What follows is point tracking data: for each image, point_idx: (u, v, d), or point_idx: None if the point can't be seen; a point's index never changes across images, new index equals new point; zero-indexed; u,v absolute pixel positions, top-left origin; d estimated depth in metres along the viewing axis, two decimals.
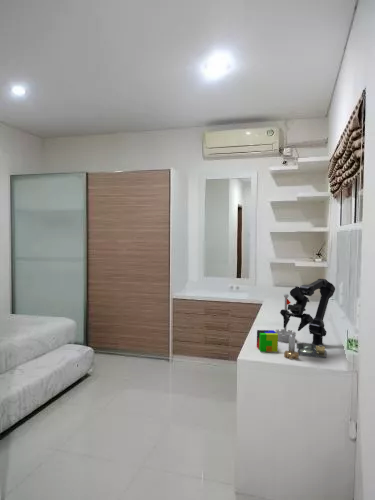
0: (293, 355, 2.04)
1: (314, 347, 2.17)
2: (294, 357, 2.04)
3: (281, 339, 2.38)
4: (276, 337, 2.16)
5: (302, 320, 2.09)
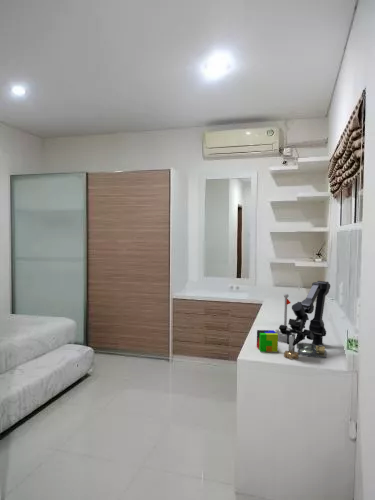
0: (293, 355, 2.04)
1: (314, 347, 2.17)
2: (294, 357, 2.04)
3: (281, 339, 2.38)
4: (276, 337, 2.16)
5: (298, 335, 2.06)
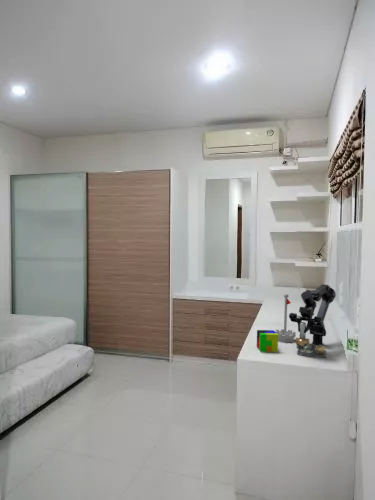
0: (305, 342, 2.10)
1: (314, 347, 2.17)
2: (306, 344, 2.11)
3: (281, 339, 2.38)
4: (276, 337, 2.16)
5: (309, 322, 2.12)
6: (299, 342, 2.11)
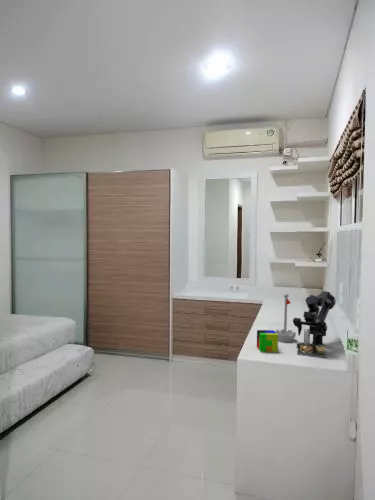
0: (309, 348, 2.13)
1: (314, 347, 2.17)
2: (310, 350, 2.13)
3: (281, 339, 2.38)
4: (276, 337, 2.16)
5: (317, 327, 2.13)
6: (303, 349, 2.14)
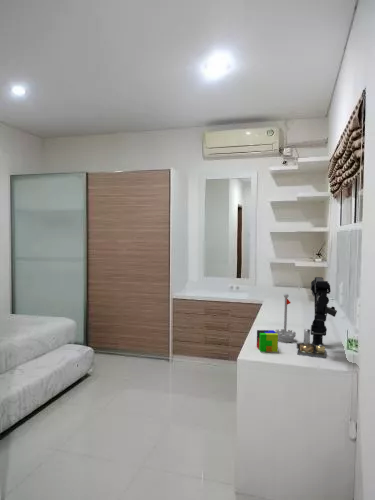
0: (309, 348, 2.13)
1: (314, 347, 2.17)
2: (310, 350, 2.13)
3: (281, 339, 2.38)
4: (276, 337, 2.16)
5: None
6: (303, 349, 2.14)
